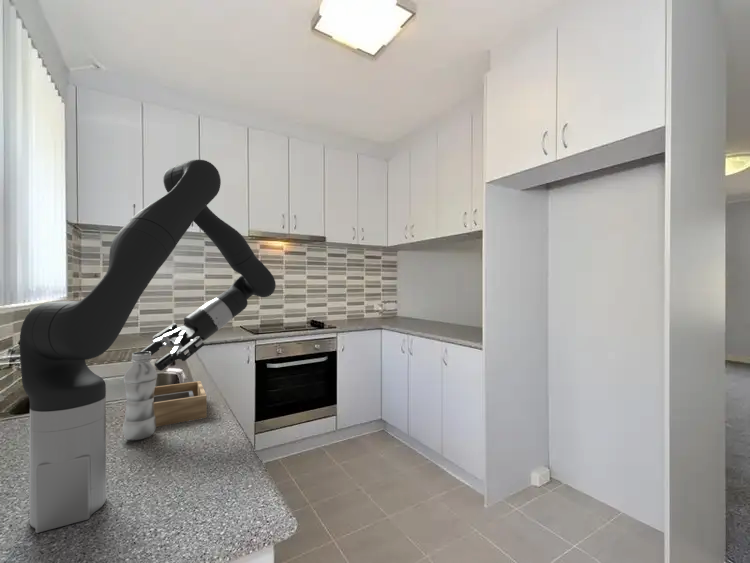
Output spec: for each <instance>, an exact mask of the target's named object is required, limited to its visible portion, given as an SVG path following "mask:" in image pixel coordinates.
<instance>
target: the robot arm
mask: <svg viewBox="0 0 750 563" xmlns="http://www.w3.org/2000/svg"><path fill="white" fill-rule="evenodd" d="M162 178H163V180H162V182H163V185H164V188H165V190H166V192H167V193H166V194H164V195H162V196H161V197H158V199H156V200H155V201H153V202H151V203H150V204H148V205H147V206H145V207H144V208H142V209H141V210H139V211H138V212H137V213H135V215H133V216H132V217H131V218H130V219H128V221H127V222H126V224H125V225H124V226H123V227H122V228H121V229H120V230H119V231H118V232H117V233H116V234H115V236H114V238H113V239H112V242H111V244H110V248H109V256H108V259H109V261H108V268H107V271H106V273H105V274H104V276H103V277H102V279H101V280H100V281H99V282H98V283H97V284H96V286H95V287H94V288H93V289H92V290H91V291H90V292H89V293H88V294H87V295H86V296H84V298H83V299H81V300H76V301H75V300H74V301H73V300H71V301H70V300H69V301H68V300H66V301H65V300H64V301H63V300H62V301H48V302H44V303H41V304H39V305H37V306H36V307H34V308H32V310H31V311H29V312H28V314H27V315H26V316H25V318H24V319H23V322H22V324H21V328H20V333H19V353H20V358H19V359H20V369H21V370H20V373H21V384H22V387H23V390H24V392H25V393H26V395H27V397H28V399H29V400H28V401H29V526H30V527H31V528H33V529H35V534H38V533H42V532H46V531H50V530H54V529H56V528H61V527H64V526H68V525H72V524H76V523H79V522H83V521H86V520H89V519H91V516H92V515H93V514H94V513H95V512H97V511H99V510H100V509H101V508H102V507H103V505H104V504H105V503H106V501H107V475H106V474H107V463H106V462H107V461H106V460H107V456H106V455H107V450H106V449H107V446H106V445H107V440H106V439H107V438H106V437H107V436H106V434H107V432H106V424H107V422H106V421H107V420H106V419H107V418H106V414H107V411H106V408H107V407H106V405H107V404H106V403H107V402H106V401H107V400H106V397H107V395H106V394H107V388H106V387H107V386H106V385H107V384H106V381H105V379H103V378H102V377H101V376H99V375H98V374H96V373H95V372H93V371H92V370H91V369H90V368H89V367H88V365H87V364H86V360H92V359H94V358H97V357H99V356H101V355H103V354H104V353H105V352H106V351H108V349H110V348H111V346H112V345H113V344H114V342H115V341H116V340H117V338H118V337H119V335H120V333H121V332H122V330H123V328H124V326H125V324H126V323H127V320H128V319H129V317H130V315H131V313H132V312H133V310H134V308H135V307H136V304H137V303H138V301H139V299H140V298H141V296H142V294H143V293H144V292H145V290H146V288H147V287H148V285H149V284H150V283H151V281H152V280H153V278H154V277H155V276H156V274H157V272H158V271H159V269H161V267H162V266H163V265H164V263H165V262H166V260H168V258H169V256H171V254H172V252H173V251H174V249H175V248H176V247H177V245H178V243H179V241H181V239H182V238H183V236H184V235H185V234H186V232H187V231H188V229H189V228H190V226H191V225H192V223H193V222H194V224H195V225H196V226H197V227H199V229H200V230H201V231H202V232H203V233H204V234H205V235H206V236H207V237H208V238H209V239H210V240H211V242H212V243H213V244H214V245H215V246H216V248H217V249H218V251H219V252H220V253H221V255H222V256H223V258H224V259H225V260H226V262H227V264H228V265H229V266H230V267H231V269H232V270H233V271H234V272H236V273H237V274H239V277H238V278H236V280H235V281H234V282H233V283H232V284H231V285H230V286H229V288H228V289H226V290H224V291H223V292H222V293H220V294H219V295H217V296H216V297H215V298H213V299H210V300H208V301H207V302H205V303H204V304H203V305H201V306H200V307H198V308H196V309H195V310H194V311H192V312H191V313H189V314H188V315H187V316H185V317H184V318H183V322H184V323H183V324H181V325H180V326H178V325H177V323H175V322H174V323H172V324H170V325H169V326H167V327H166V328H164V329H162V330H161V331H159V332H158V333H156V334H155V335H153V336H152V339H153V340H152V341H153V342H152V343H151V344H148V346H145V347H144V348H143V349H142V350H140V351H139V352H142V351H148V352H151V356H153V355H155V353H157V352H158V351H160V349H163V348H165V347H168V348H172V347H173V348H172V350H171V351H170V352H168V353H166V354H165V355H163V356H162V357H161V358H160V359H158V360H157V361H156V362H154V366H155V367H156V369H157V370H158V371H160V372H161V371H163V370H164V369H166V368H167V367H168V366H169V365H171V364H172V363H174V362H175V361H180V360H181V361H182V362H185V361H187V359H189V358H190V357H192V356H193V355H194V354H195V353H196V352H197V351H199V350H200V349H202V347H204V346H205V343H204V341H206V340H207V339H209V338H210V337H211V336H213V335H214V334H215V333H217V332H218V331H220V329H223V327H225V326H226V325H227V324H228V323H229V322H230V321H231V320H232V319H233V318H235V317H237V316H238V315H239V314H240V313H242V312H243V311H244V310H245V309H246V308H247V307H248V300H249V298H250V297H252V296H255V297H260V298H268V297H270V296H271V295H273V293H274V292H275V290H276V288H277V286H276V285H277V284H276V279H275V277H274V276H273V274H272V272H271V271H270V270H269V269H268V267H267V266H265V265H264V263H263V262H261V260H260V259H258V257H257V256H256V255H255V252H254V251H253V250H252V248H251V247H250V245H249V243H248V242H247V240H246V239H245V237H243V235H242V234H241V233H240V232H239V231H238V230H236V229H235V228H234V227H232V226H231V224H228V223H227V222H225V221H224V220H223V219H222V218H220V217H218V215H216V214H215V212H213V211H212V210H211V209H210V208H209V207H208V205H209V204H210V203H211V202H212V201H213V200H214V198H216V197H217V195H218V194H219V192H220V189H221V185H222V184H221V182H222V181H221V176H220V173H219V170H218V169H217V167H216V166H215V165H214V164H213V163H211V162H210V161H208V160H205V159H192V160H187V161H185V162H182V163H179V164H177V165H174V166H172V167H169V168H168V169H166V170H165V172H164V173H163V177H162Z"/></svg>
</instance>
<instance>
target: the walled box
mask: <svg viewBox="0 0 750 563" xmlns="http://www.w3.org/2000/svg"><path fill="white" fill-rule="evenodd" d="M207 401H208V399H207V394H206V391H205V389H204V385H203V383H202V381H201V380H196V381H188V382H181V383H175V384H174V383H173V384H167V385H158V386H157V385H156V386H155V390H154V413H155V414H154V415H155V417H156V428H158V427H163V426H168V425H175V424H180V423H179V422H181V423H185V422H184V421H186V422H190V421H189V420H192V421H196V420H195V419H197V420H202V419H201V418H203V419H206V417H207V416H208V415H207V412H208V411H207V410H208V407H207V406H208V405H207ZM207 418H208V417H207ZM174 423H175V424H174Z"/></svg>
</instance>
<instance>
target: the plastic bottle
mask: <svg viewBox="0 0 750 563" xmlns="http://www.w3.org/2000/svg"><path fill="white" fill-rule="evenodd" d="M141 351H142V350H141ZM151 361H152V355H151V352H148V351H142V352H140V351H137V352H136V351H135V352H132V353H131V361H130V362H131V363H132V364H131V365H130V366H129V367H128V369H127V370H126V371H125V373H124V375H123V385H124V389H125V390H124V391H125V403H126V404H125V414H124V420H123V423H122V429H121V430H122V435H123V437H124V438H125V440H128V441H139V440H145V439H147V438H149V437H151V436H152V435H153V434H154V433H155V432H156V428H157V427H156V417H155V415H154V414H155V413H154V390H155V387H156V386H157V385H156V384H157V378H158V373H157V370H156V368H155V367H154V366H153V364H152V363H151Z"/></svg>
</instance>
